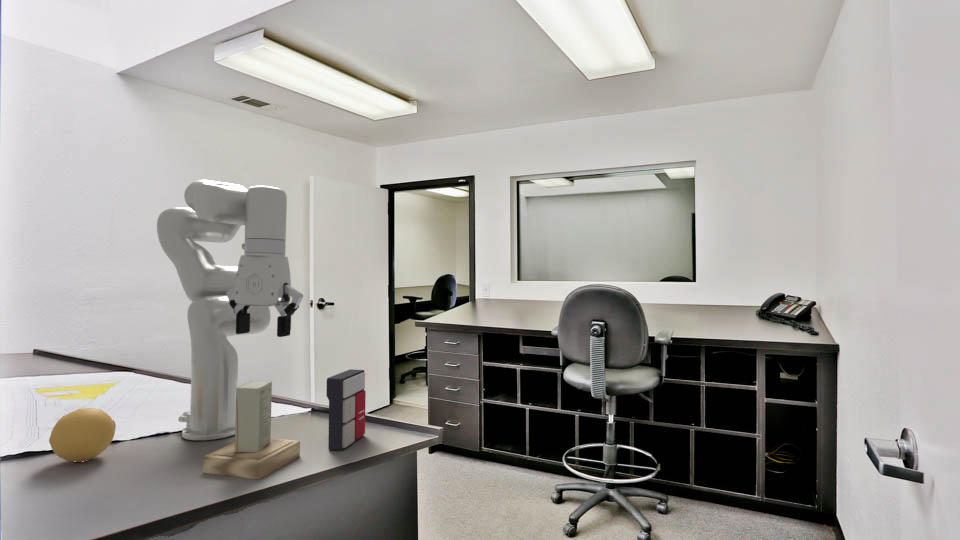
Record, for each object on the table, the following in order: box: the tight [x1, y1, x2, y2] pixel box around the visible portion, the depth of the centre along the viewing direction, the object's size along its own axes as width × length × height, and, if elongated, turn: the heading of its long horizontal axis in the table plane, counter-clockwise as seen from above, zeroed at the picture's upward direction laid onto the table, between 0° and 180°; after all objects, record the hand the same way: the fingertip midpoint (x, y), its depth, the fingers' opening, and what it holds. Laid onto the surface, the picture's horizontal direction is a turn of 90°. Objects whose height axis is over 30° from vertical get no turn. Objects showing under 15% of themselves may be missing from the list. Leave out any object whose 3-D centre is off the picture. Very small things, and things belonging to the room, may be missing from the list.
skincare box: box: [234, 380, 273, 452], centre depth 94 cm, size 6×4×12 cm
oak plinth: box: [202, 437, 301, 481], centre depth 94 cm, size 12×12×3 cm
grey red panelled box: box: [326, 368, 366, 452], centre depth 107 cm, size 11×4×15 cm, turn 168°
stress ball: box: [48, 407, 116, 463], centre depth 95 cm, size 10×10×10 cm
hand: (262, 334), depth 97 cm, fingers open, 9 cm apart
